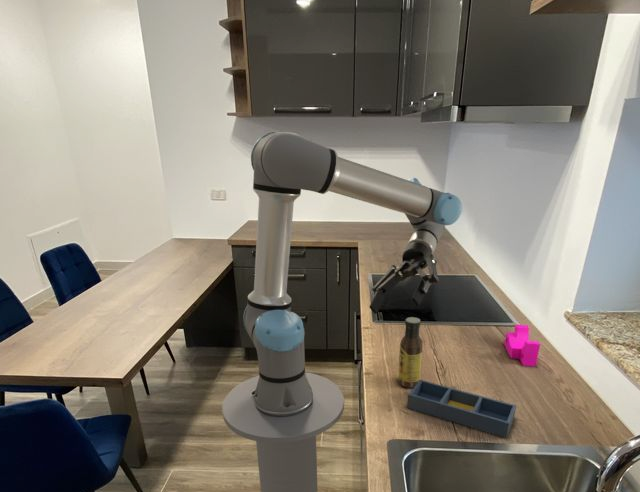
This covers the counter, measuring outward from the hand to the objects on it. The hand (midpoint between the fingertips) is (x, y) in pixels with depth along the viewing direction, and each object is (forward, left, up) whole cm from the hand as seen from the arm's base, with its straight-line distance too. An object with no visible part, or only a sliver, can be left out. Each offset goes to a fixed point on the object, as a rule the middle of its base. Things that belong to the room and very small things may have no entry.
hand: (393, 306), depth 112 cm
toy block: (+27, +42, -26) cm, 56 cm away
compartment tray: (+20, 0, -25) cm, 32 cm away
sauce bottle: (+3, +7, -26) cm, 27 cm away
